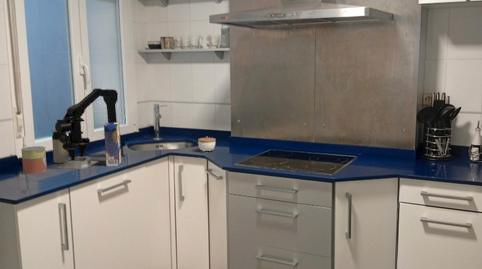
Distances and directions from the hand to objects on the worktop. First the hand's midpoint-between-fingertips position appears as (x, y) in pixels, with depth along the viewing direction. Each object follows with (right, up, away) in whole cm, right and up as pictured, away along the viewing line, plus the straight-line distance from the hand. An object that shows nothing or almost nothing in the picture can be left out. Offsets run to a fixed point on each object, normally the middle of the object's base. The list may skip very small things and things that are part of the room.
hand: (77, 158), depth 250 cm
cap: (0, -3, 0) cm, 3 cm away
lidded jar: (+68, +2, +35) cm, 76 cm away
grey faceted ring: (0, -3, +1) cm, 4 cm away
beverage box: (+19, -3, +3) cm, 19 cm away
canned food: (-17, -6, -13) cm, 22 cm away
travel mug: (-12, -2, +9) cm, 16 cm away
